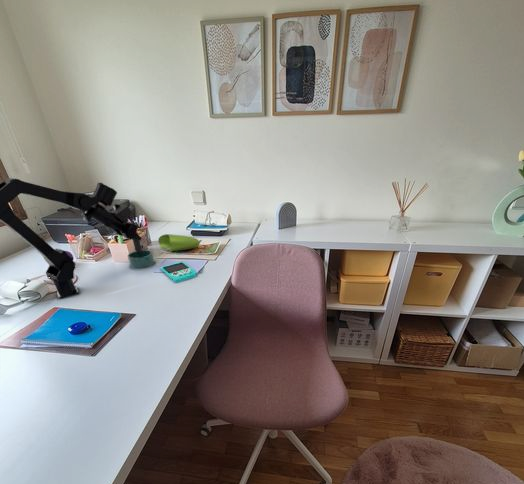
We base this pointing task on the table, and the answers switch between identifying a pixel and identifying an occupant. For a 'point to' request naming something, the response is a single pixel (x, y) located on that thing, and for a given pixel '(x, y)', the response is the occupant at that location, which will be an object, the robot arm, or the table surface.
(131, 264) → the pen pot
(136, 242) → the marker
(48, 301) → the table surface
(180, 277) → the handheld game console
